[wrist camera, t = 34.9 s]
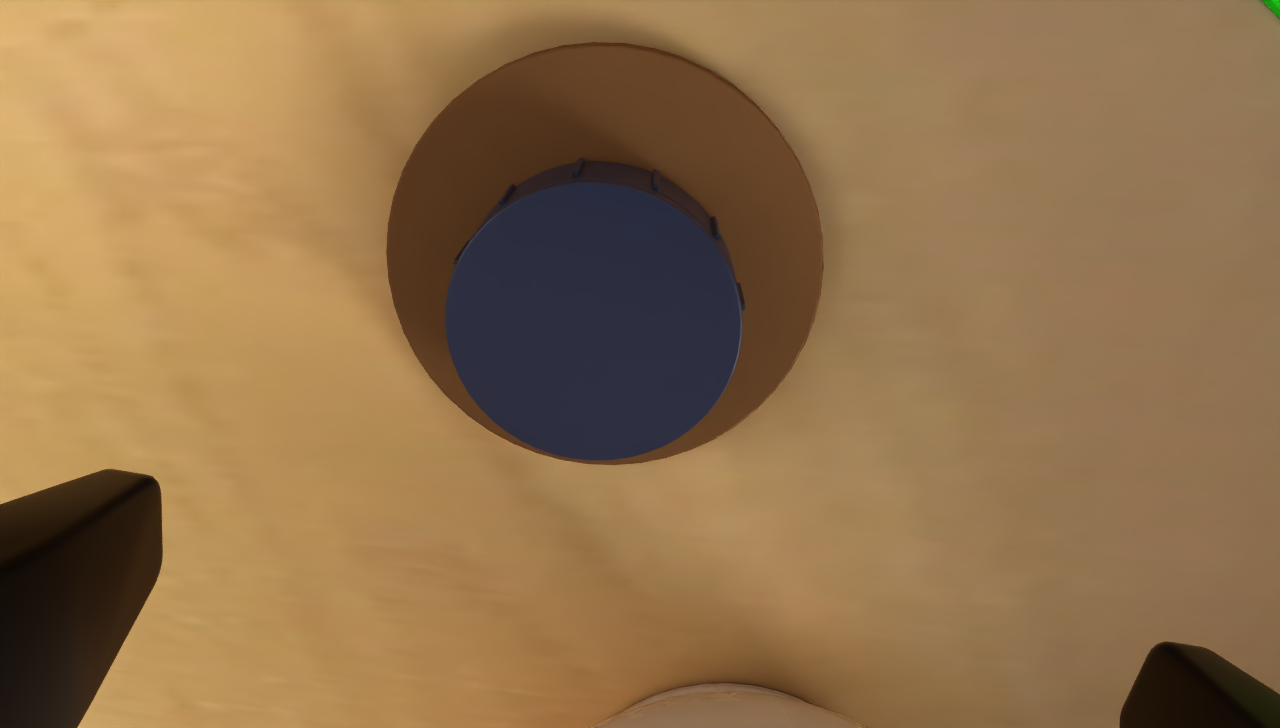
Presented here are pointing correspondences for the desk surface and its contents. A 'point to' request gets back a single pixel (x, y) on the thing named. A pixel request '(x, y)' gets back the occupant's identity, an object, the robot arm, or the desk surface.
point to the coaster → (624, 133)
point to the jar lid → (595, 312)
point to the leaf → (1274, 6)
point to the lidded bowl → (726, 710)
